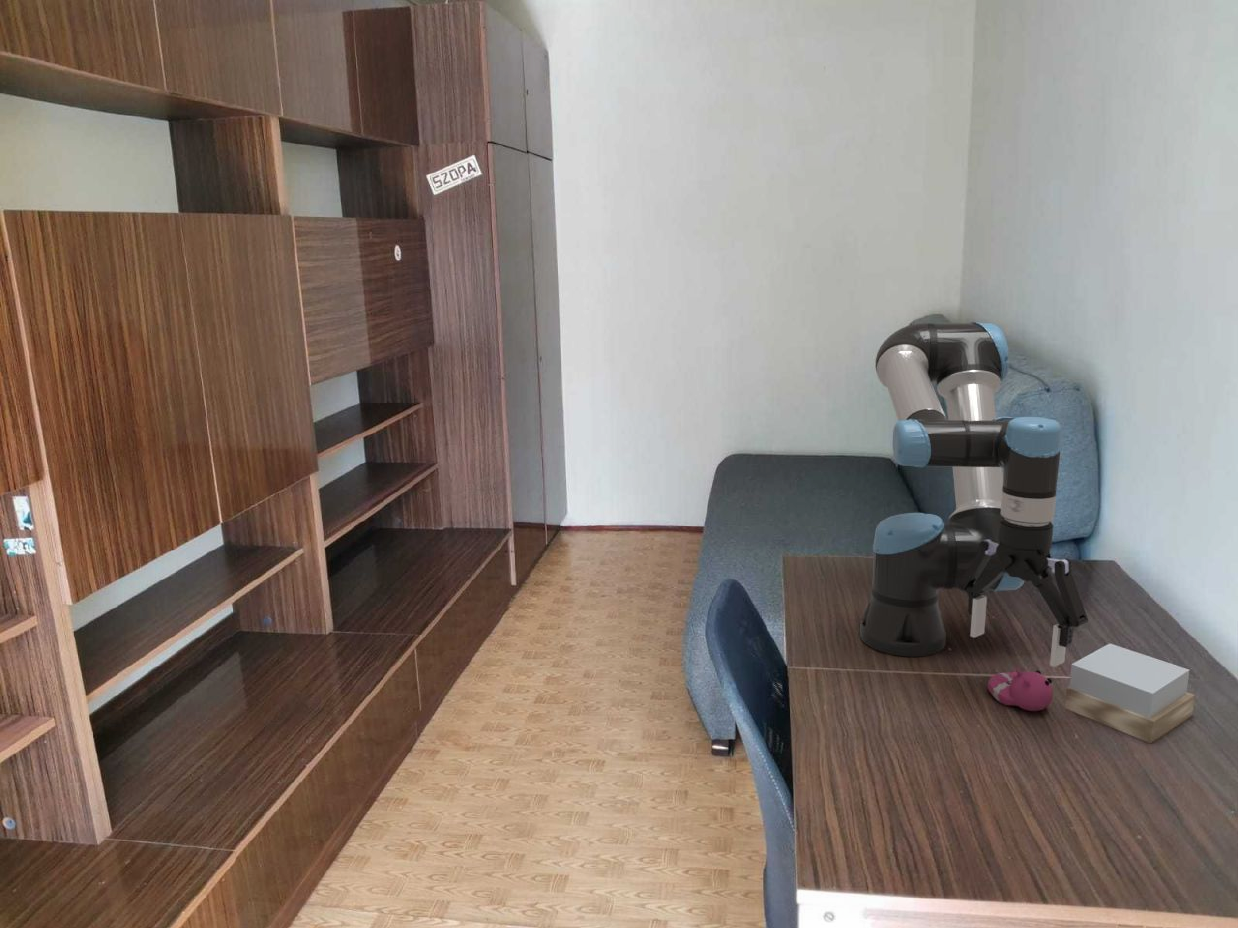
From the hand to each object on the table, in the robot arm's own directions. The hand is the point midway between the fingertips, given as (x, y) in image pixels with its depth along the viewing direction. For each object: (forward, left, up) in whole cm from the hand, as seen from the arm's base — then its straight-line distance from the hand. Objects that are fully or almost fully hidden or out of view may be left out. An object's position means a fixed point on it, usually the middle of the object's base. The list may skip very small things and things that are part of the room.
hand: (1015, 649), depth 144 cm
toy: (+1, +2, -10) cm, 10 cm away
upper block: (+12, +11, -6) cm, 17 cm away
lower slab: (+13, +11, -10) cm, 20 cm away
